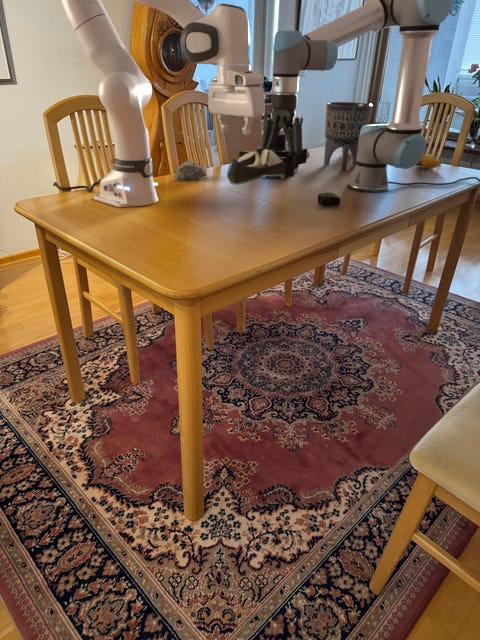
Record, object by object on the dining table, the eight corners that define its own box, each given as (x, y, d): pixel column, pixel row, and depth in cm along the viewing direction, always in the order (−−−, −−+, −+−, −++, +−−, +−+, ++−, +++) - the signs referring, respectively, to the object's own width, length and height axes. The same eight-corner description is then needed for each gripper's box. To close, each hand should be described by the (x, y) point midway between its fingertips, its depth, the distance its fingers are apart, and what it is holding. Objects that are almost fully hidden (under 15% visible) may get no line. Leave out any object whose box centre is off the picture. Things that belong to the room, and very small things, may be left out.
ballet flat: (298, 176, 143) (300, 148, 139) (240, 187, 129) (241, 157, 125) (279, 171, 148) (281, 144, 144) (222, 182, 134) (222, 153, 130)
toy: (415, 162, 205) (409, 155, 218) (417, 175, 208) (411, 168, 221) (441, 154, 202) (433, 147, 215) (443, 168, 205) (435, 160, 218)
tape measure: (320, 209, 151) (321, 197, 149) (314, 203, 157) (315, 192, 155) (339, 208, 152) (341, 197, 150) (333, 202, 158) (334, 191, 156)
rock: (199, 174, 190) (198, 158, 187) (211, 178, 185) (211, 162, 181) (172, 179, 183) (171, 162, 179) (184, 183, 177) (183, 166, 174)
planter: (313, 167, 208) (319, 103, 195) (331, 160, 222) (338, 101, 209) (353, 173, 199) (362, 107, 185) (369, 166, 213) (379, 104, 199)
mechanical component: (240, 120, 182) (283, 115, 202) (239, 174, 192) (280, 164, 212) (283, 126, 170) (325, 120, 190) (280, 183, 180) (320, 171, 200)
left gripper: (201, 77, 126) (204, 130, 133) (250, 78, 112) (250, 137, 119) (219, 76, 130) (221, 128, 137) (268, 77, 116) (268, 134, 123)
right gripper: (251, 91, 136) (249, 169, 148) (302, 96, 123) (295, 182, 134) (269, 90, 140) (266, 167, 152) (320, 95, 127) (312, 178, 138)
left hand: (235, 132), depth 128 cm, fingers open, 8 cm apart
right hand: (280, 174), depth 143 cm, fingers closed on ballet flat, 8 cm apart
